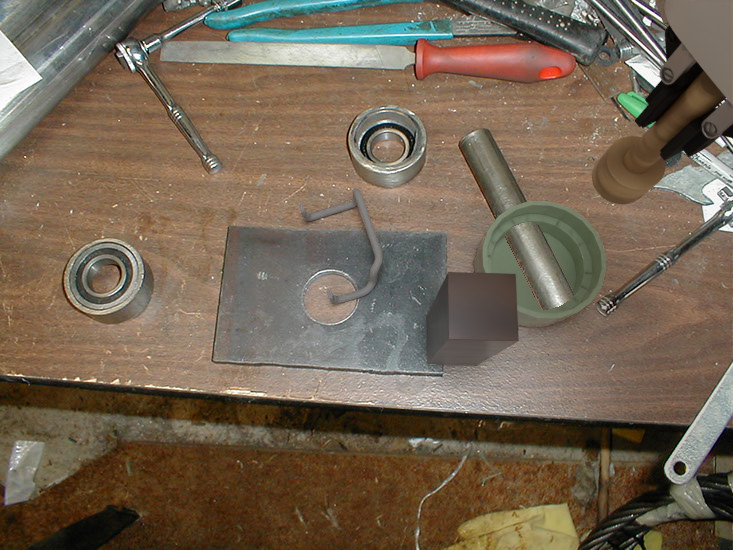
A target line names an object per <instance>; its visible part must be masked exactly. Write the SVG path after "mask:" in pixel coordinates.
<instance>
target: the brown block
mask: <svg viewBox="0 0 733 550" xmlns="http://www.w3.org/2000/svg"><path fill="white" fill-rule="evenodd" d="M518 342H519V324H518V315H517V291H516V274H504V273H474V272H465V271H464V272H460V271H448V272H447V273H446V275H445V277H444V279H443V281H442V284H441V286H440V288H439V290H438V291H437V294H436V296H435V298H434V300H433V302H432V304H431V306H430V308H429V310H428V312H427V314H426V365H427V364H436V365H435V366H460V367H477V366H479V365H480V364H482V363H484V362H485V361H487V360H489V359H491V358H493V357H494V356H496V355H497V354H499V353H501V352H502V351H504V350H506V349H508V348H509V347H511V346H513V345H515V344H516V343H518Z"/></svg>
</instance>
